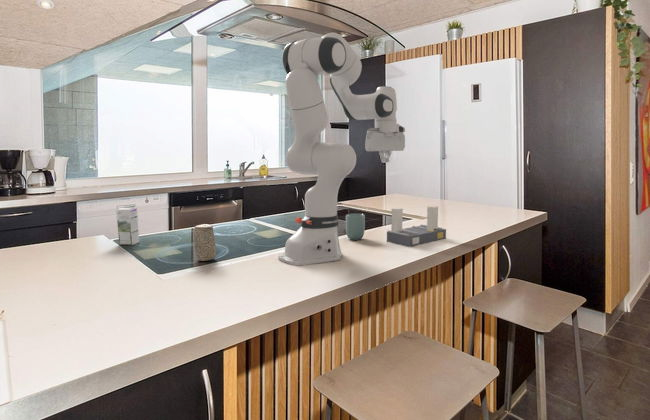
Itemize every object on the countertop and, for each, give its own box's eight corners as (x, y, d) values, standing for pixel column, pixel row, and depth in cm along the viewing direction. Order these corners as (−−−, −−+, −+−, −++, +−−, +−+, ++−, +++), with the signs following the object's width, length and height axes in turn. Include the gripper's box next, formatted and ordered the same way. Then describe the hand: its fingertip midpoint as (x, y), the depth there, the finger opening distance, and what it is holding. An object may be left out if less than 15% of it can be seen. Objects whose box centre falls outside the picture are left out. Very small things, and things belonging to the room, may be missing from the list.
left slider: (397, 232, 167) (397, 209, 166) (391, 230, 170) (391, 208, 168) (402, 231, 169) (402, 208, 168) (396, 230, 171) (396, 207, 170)
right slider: (432, 229, 172) (433, 207, 171) (426, 228, 174) (427, 206, 173) (437, 228, 174) (438, 206, 173) (431, 227, 176) (432, 205, 175)
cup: (365, 241, 172) (365, 216, 170) (346, 241, 172) (346, 216, 171) (364, 237, 180) (364, 213, 178) (345, 237, 180) (345, 213, 178)
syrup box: (140, 242, 174) (137, 206, 172) (132, 245, 168) (129, 208, 166) (126, 241, 175) (124, 206, 173) (118, 245, 169) (115, 208, 167)
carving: (202, 257, 149) (200, 223, 147) (220, 259, 146) (219, 224, 144) (190, 261, 143) (188, 226, 141) (209, 263, 140) (207, 227, 138)
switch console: (410, 247, 161) (411, 235, 160) (386, 241, 170) (386, 230, 169) (446, 239, 174) (446, 228, 173) (422, 234, 184) (422, 224, 183)
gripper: (372, 127, 165) (372, 163, 167) (407, 128, 178) (407, 161, 180) (361, 128, 170) (361, 162, 172) (396, 129, 183) (396, 161, 185)
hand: (385, 162), depth 176 cm, fingers closed
